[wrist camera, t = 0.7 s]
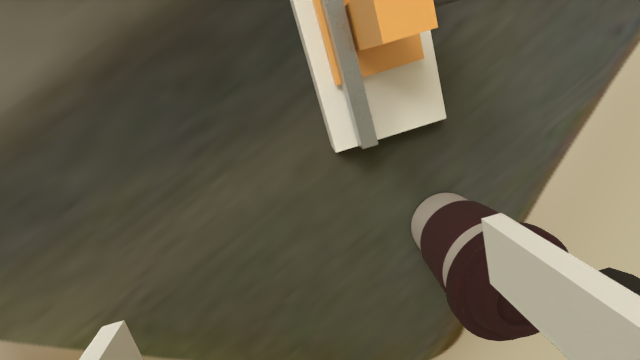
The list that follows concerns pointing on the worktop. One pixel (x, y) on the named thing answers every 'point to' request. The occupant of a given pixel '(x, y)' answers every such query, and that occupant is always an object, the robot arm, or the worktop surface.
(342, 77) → the grey metal rod
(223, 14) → the worktop surface
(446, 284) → the coffee cup
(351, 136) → the socket block
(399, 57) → the plug
